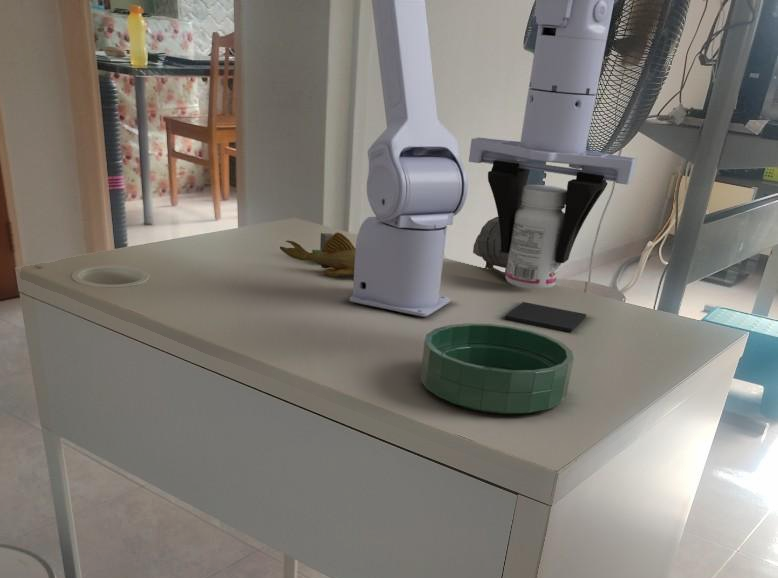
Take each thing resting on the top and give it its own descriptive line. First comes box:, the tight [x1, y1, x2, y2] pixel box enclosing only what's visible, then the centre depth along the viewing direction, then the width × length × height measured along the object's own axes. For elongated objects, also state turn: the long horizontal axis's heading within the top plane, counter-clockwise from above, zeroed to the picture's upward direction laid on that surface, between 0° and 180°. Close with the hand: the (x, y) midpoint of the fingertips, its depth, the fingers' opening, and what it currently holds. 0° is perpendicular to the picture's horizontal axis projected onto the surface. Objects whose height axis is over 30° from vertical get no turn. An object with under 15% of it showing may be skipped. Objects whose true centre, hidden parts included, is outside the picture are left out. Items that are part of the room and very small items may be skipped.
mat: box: [504, 301, 587, 333], centre depth 95 cm, size 8×7×1 cm
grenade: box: [472, 216, 562, 278], centre depth 109 cm, size 8×8×15 cm
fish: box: [279, 232, 356, 278], centre depth 104 cm, size 5×14×5 cm, turn 77°
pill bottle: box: [505, 184, 567, 290], centre depth 77 cm, size 5×5×8 cm
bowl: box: [420, 322, 575, 415], centre depth 73 cm, size 13×13×4 cm
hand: (533, 255), depth 78 cm, fingers closed on pill bottle, 5 cm apart
